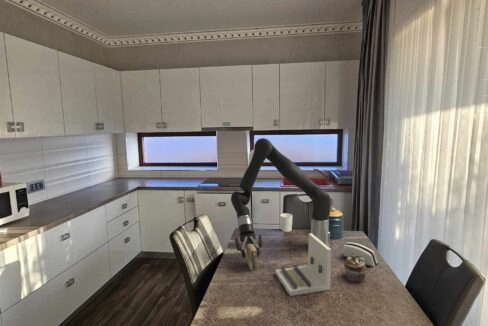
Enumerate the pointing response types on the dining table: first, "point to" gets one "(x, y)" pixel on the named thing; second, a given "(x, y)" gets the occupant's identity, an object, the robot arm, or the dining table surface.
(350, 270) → the cupcake
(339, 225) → the canister
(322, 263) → the l-shaped angle bracket
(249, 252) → the wooden block
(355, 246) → the white arched napkin holder
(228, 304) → the dining table surface
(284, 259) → the dining table surface
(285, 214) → the white cup
